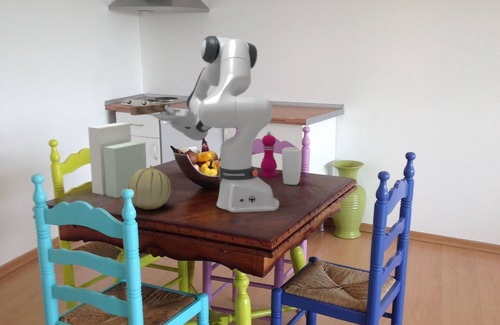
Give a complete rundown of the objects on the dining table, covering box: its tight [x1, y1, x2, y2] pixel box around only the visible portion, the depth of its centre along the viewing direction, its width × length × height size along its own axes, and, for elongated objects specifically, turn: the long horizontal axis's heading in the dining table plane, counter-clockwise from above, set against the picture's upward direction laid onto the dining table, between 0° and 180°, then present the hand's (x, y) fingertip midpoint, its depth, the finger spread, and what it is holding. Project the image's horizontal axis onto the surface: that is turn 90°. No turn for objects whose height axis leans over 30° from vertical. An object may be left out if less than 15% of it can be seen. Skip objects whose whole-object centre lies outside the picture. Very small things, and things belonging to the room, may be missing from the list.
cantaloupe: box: [128, 165, 172, 211], centre depth 186 cm, size 15×15×15 cm
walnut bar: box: [129, 102, 171, 116], centre depth 216 cm, size 20×3×3 cm, turn 146°
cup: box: [281, 146, 303, 186], centre depth 220 cm, size 7×7×15 cm
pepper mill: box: [260, 131, 278, 179], centre depth 233 cm, size 7×7×20 cm
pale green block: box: [103, 140, 147, 199], centre depth 207 cm, size 16×6×19 cm, turn 146°
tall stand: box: [87, 122, 132, 196], centre depth 211 cm, size 16×6×26 cm, turn 146°
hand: (160, 106), depth 220 cm, fingers closed on walnut bar, 3 cm apart
